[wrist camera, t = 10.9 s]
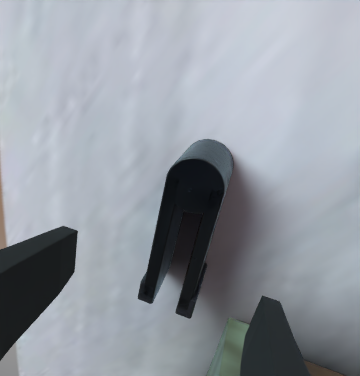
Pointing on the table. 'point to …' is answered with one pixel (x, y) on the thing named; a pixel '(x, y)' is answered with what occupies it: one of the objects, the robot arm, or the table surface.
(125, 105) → the table surface
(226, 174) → the tongs
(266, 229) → the table surface
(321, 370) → the drawer
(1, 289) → the robot arm
